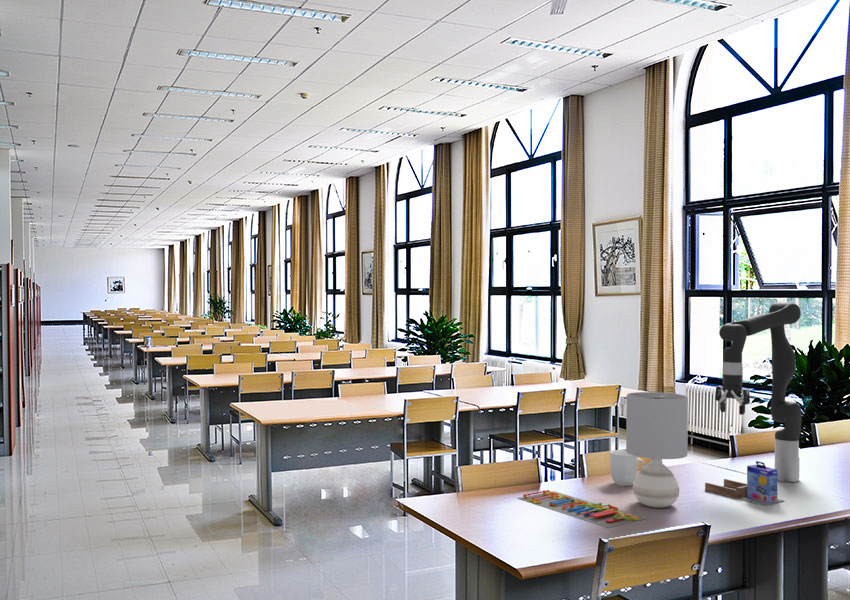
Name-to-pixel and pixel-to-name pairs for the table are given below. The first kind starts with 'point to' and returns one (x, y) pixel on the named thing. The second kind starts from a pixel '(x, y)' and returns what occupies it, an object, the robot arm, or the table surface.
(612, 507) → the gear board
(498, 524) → the table surface
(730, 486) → the frame
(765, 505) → the pad
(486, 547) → the table surface
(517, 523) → the table surface
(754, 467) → the ink cartridge box
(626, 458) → the mug
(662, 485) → the lamp
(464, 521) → the table surface
